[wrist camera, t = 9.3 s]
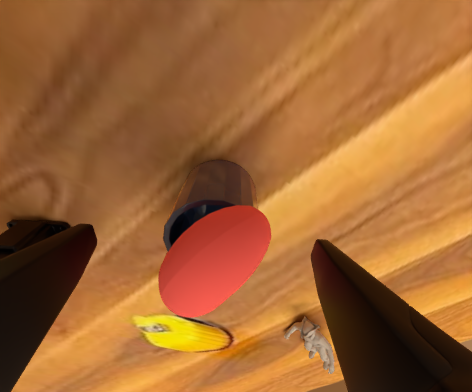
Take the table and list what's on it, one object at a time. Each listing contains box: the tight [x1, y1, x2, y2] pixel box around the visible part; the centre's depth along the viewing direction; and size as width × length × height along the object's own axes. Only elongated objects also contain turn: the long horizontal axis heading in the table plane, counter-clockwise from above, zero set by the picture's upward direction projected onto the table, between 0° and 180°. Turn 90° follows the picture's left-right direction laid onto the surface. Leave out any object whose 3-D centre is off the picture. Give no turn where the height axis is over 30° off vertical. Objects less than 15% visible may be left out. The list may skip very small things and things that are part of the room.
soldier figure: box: [284, 316, 334, 374], centre depth 33 cm, size 8×5×12 cm
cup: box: [163, 160, 258, 251], centre depth 20 cm, size 7×7×8 cm
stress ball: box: [158, 205, 271, 317], centre depth 14 cm, size 5×9×6 cm, turn 132°
